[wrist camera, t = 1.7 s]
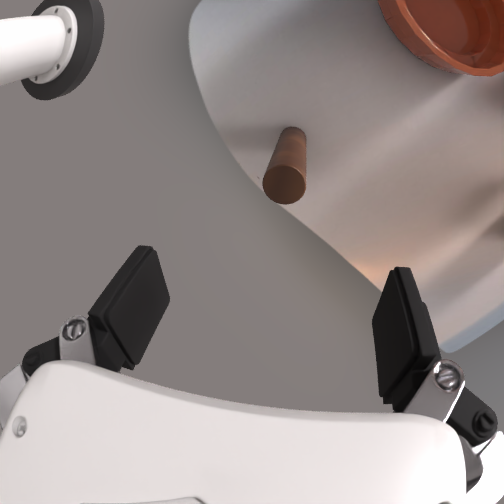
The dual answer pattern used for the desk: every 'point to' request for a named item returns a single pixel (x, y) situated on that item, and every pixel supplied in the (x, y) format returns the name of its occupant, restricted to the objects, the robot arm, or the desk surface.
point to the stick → (287, 168)
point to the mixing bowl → (451, 33)
